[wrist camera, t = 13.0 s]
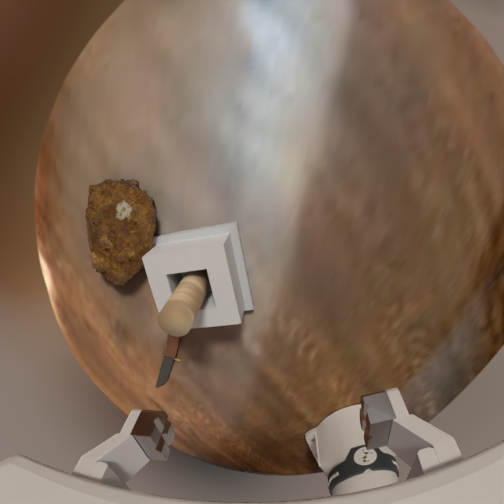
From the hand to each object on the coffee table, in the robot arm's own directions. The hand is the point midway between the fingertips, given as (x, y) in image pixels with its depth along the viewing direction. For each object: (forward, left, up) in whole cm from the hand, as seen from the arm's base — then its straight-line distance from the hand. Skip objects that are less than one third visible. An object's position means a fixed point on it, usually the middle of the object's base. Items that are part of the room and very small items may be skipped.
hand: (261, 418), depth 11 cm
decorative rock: (+3, +20, -30) cm, 36 cm away
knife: (-18, +19, -30) cm, 39 cm away
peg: (-4, +10, -28) cm, 30 cm away
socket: (-4, +10, -29) cm, 31 cm away
